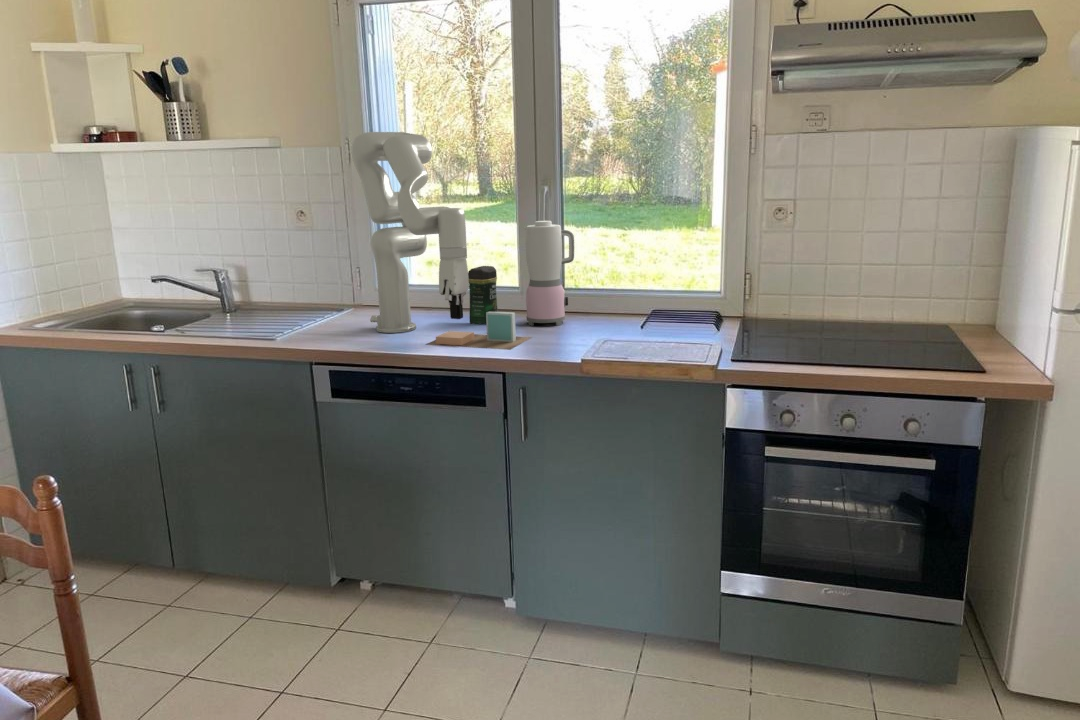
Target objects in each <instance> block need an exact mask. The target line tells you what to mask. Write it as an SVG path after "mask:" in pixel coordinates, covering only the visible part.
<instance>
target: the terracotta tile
mask: <svg viewBox="0 0 1080 720" xmlns="http://www.w3.org/2000/svg"><path fill="white" fill-rule="evenodd" d="M474 334H475V332H473V331H455V330H454V331H453V330H448V331H445V332H443V333H441V334H439V335H436V336H435V340H436V344H448V345H463V344H466V343H468V342H470V341H472V340H474Z"/></svg>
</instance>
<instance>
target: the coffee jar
mask: <svg viewBox="0 0 1080 720" xmlns="http://www.w3.org/2000/svg"><path fill="white" fill-rule="evenodd" d="M468 278H469V288H468V290H469V324H470V325H482V326H483V325H484V326H485V325H486V326H487V323H486V313H487V312H489V311H490V312H499V311H498V309H499V308H498V299H497V279H498V277H497V269H496V268H495V267H494V266H492V265H481V266H477V267H474V268H470V269H468Z"/></svg>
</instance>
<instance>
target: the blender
mask: <svg viewBox="0 0 1080 720" xmlns="http://www.w3.org/2000/svg"><path fill="white" fill-rule="evenodd" d="M522 228H523V229H524V230H525V256H526V257H525V258H526V260H525V261H526V266H527V271H528V274H529V275H528V277H529V283H528V286H527V288H526V292H525V296H526V297H525V301H526V302H525V303H526V304H525V306H526V315H525V316H526V321H527V323H528V326H530V325H533V326H534V325H535V324H534V323H537V324H549V323H551V324H552V323H555V326H561V325H562V323H563V321H564V320H565V319H566V314H565V312H566V311H565V310H566V309H565V307H566V306H569V297H568V296H566V295H565V293H566V292H565V288H564V287H563V285H562V283H561V271H562V265H564V264H569V263H572V262H573V261H574V258H575V236H574V233H572V232H571V230H567V229H562V226H561V225H560V224H553V223H552V220H537V221H534V224H532V225H531V224H530V225H527V226H523V227H522ZM562 236H565V237H567V238H568V257H565V258H563V237H562Z"/></svg>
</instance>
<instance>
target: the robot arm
mask: <svg viewBox="0 0 1080 720" xmlns="http://www.w3.org/2000/svg"><path fill="white" fill-rule="evenodd" d="M432 156H433V149H432V145H431V142H430V141H429V139H428V138H427V137H425V136H424V135H422V134H415V133H411V132H409V133H408V132H403V131H402V132H401V131H368V132H362V133H359V134H358V135H356V136H355V138H354V139H353V142H352V144H351V158H352V162H353V164H354V168H355V170H356V172H357V174H358V177H359V179H360V181H361V184H362V190H363V193H364V197H365V198H364V199H365V202H366V206H367V211H368V214H369V218H370V219H371V222H373V223H375V224H376V225H377V224H378V225H389V224H392V225H393V224H401V226H393V227H392V226H391V227H383V228H380V229H377V230H376V231H374V232H373V233H372V235H371V237H370V246H371V250H372V255H373V259H374V263H375V264H374V265H375V272H376V281H377V292H378V294H377V295H378V296H377V297H378V307H379V314H378V315H377V314H376V315H375V314H374V315H371V317H370V319H369V320H370V322H371V323H376V324H377V325H376V326H375V330H376V332H379V333H385V334H394V333H398V334H399V333H406V332H411V331H414V330H416V329H417V323H415V322H412V314H411V302H410V301H411V300H410V299H411V298H410V284H409V283H410V282H409V273H408V269H407V267H406V266H405V264H404V263H403V261H402V260H401V259H404V258H411V257H418V256H420V255H423V254H424V253H425V252H426V250H427V246H428V245H427V244H428V241H427V239H428V238H427V235H438V246H439V267H438V289H439V290H438V291H439V294H440V295H441V296H444V300H445V301H448V305H449V312H450V313H449V314H450V315H449V317H450V319H451V320H461V319H463V318H464V309H463V307H464V306H463V305H464V297H465V296H466V294H467V291H469V278H468V271H469V269H468V262H467V259H468V252H467V251H468V249H467V248H468V247H467V229H466V227H467V226H466V213H465V210H464V209H463V208H460V207H448V206H429V207H426V206H425V207H420V204H419V201H418V199H417V198H416V196H415V195H414V194H415V193H416V192H418V191H420V190H421V189H422V188H423V187H424V186H426V184H427V183H428V181H429V173H428V171H427V170H426V167H425V166H424V164H428V163H429V162H430V161H431V158H432ZM378 162H388V164H389V166H390V168H391V170H392V172H393V174H394V176H395V178H396V179H397V181H398V183H399V185H400V187H399V190H398V191H394V190H393V187H392V183H391V179H390V176H389V175H388V173H387V171H386V170H385V169H384V168H383V167H382V166H381V165H380V164H379V163H378Z"/></svg>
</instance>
